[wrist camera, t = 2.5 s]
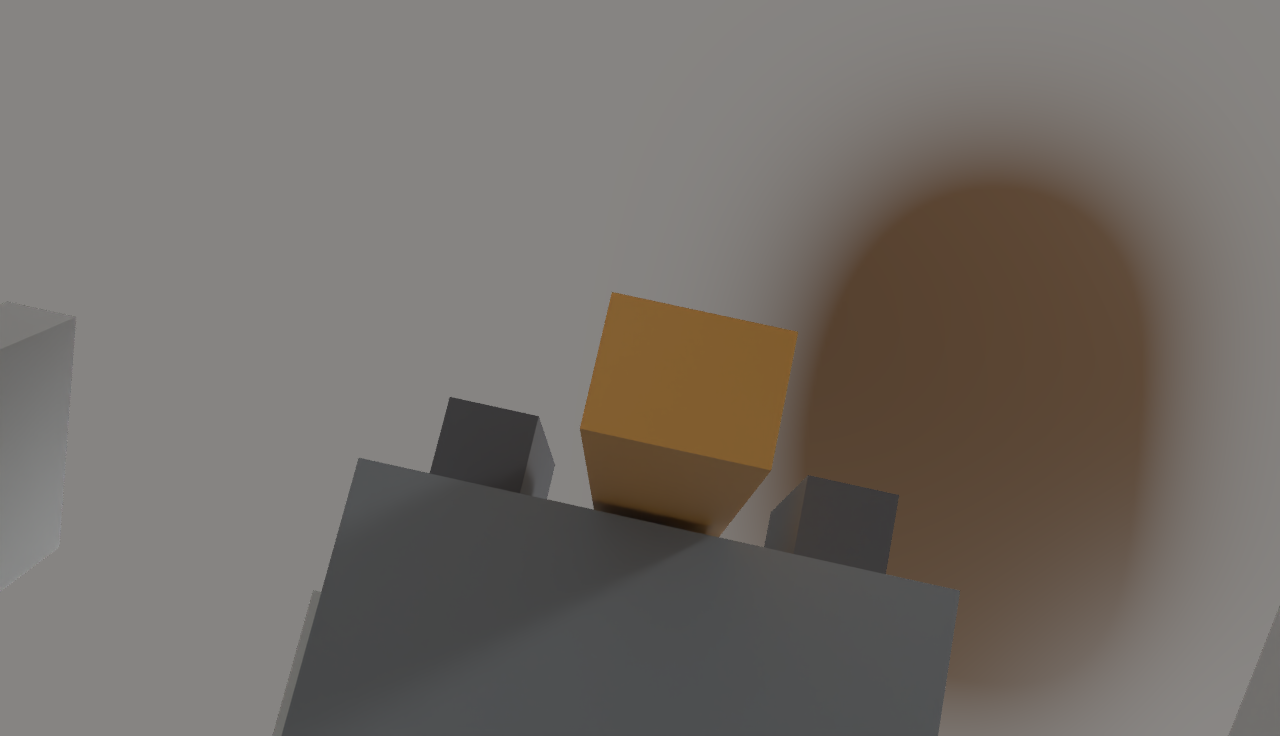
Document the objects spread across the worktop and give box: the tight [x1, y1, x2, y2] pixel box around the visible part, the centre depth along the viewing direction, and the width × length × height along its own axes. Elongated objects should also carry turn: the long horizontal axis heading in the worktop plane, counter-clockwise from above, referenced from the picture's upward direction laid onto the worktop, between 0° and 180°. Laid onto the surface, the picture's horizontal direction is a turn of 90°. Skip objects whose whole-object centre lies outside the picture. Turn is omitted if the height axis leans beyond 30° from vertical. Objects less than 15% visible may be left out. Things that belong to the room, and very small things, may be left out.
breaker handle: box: [580, 292, 798, 537], centre depth 34 cm, size 4×18×3 cm, turn 1°
